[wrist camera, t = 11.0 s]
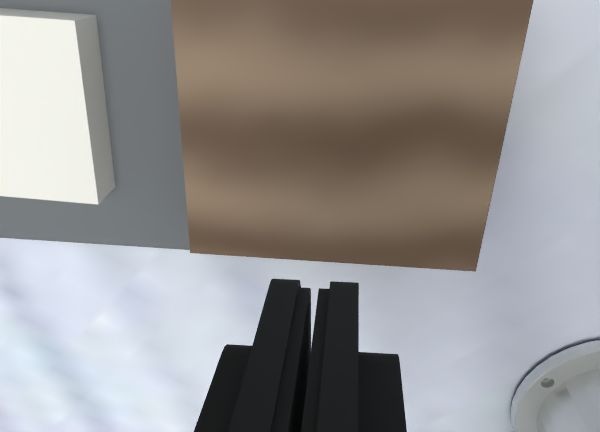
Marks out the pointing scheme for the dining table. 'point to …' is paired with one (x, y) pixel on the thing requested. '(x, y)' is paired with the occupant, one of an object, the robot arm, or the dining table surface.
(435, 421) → the dining table surface
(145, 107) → the mat
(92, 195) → the cream box
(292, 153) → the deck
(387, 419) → the robot arm
